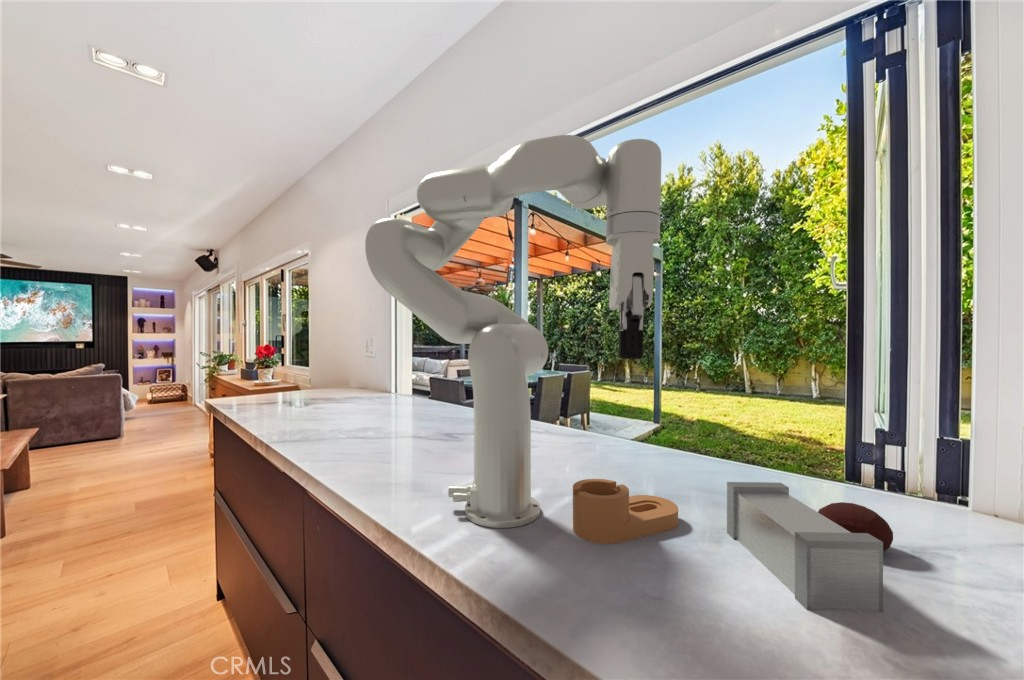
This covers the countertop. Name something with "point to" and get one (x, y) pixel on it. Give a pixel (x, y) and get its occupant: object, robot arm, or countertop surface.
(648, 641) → the countertop surface
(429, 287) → the robot arm
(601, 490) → the bracket
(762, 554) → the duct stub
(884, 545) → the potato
